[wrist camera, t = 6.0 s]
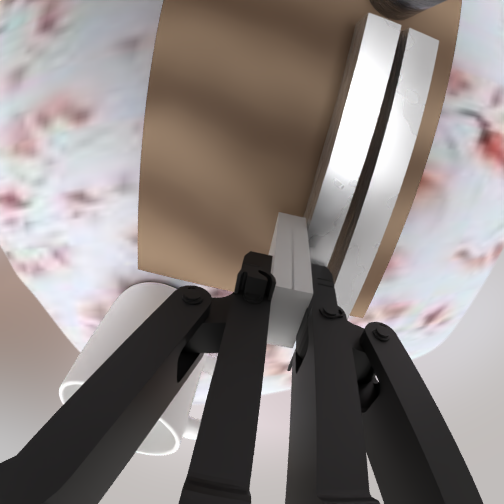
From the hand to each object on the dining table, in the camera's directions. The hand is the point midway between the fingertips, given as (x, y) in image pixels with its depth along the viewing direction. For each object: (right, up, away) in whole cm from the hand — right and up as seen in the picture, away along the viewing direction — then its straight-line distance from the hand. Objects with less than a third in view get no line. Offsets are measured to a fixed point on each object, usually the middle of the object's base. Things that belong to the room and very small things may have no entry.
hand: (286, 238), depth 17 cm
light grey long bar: (+2, +4, -1) cm, 5 cm away
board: (0, +6, 0) cm, 6 cm away
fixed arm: (+4, +5, -1) cm, 7 cm away
